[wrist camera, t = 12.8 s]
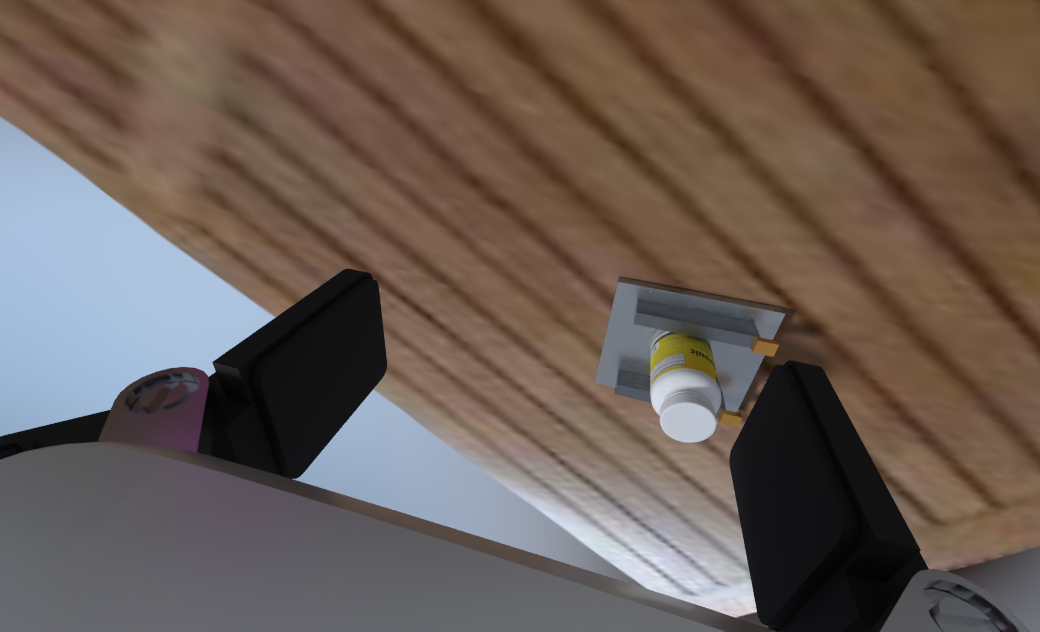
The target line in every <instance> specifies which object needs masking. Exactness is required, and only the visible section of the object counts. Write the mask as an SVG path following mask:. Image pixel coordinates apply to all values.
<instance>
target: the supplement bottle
mask: <svg viewBox="0 0 1040 632" xmlns="http://www.w3.org/2000/svg"><path fill="white" fill-rule="evenodd" d="M650 395H651V402H652V405H653V407H654V409H655V411H656V412H657V413H658V414H659V415H660V424H661V427H662V429H663V431H664V432H665V433H666V434H667V435H668V436H670V437H671V438H673V439H675V440H678V441H682V442H689V443H692V442H699V441H702V440H705V439H707V438H708V437H710V436H711V435H712V434H713V433H714V431H715V429H716V425H717V421H716V415H715V414H716V413H717V411H718V410H719V408H720V405H721V391H720V386H719V382H718V377H717V373H716V368H715V363H714V358H713V353H712V350H711V346H710V344H709V342H708V341H707V340H706V339H703V338H698V337H693V336H689V335H684V334H679V333H674V332H669V331H667V332H664V333H663V334H661V335H660V336H658V337H657V338H656V340H655V341H654V343H653V344H652V347H651V353H650Z"/></svg>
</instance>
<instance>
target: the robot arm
mask: <svg viewBox="0 0 1040 632" xmlns="http://www.w3.org/2000/svg"><path fill="white" fill-rule="evenodd" d="M213 365H214V368H215V370H216V372H215V373H214V374H212V375H211V376H210V377H208V376H207V375H206V373H205V372H204V371H202V370H199V369H196V368H189V367H179V368H170V369H166V370H162V371H158V372H155V373H152V374H150V375H147V376H145V377H142V378H140V379H139V380H137V381H135V382H133V383H132V384H130V385H129V386H127V387H126V388H125V389H124V390H123V391H122V392H120V394H119V395H118V397H117V398H116V400H115V401H114V403H113V406H112V408H111V410H108V411H104V412H100V413H96V414H91V415H87V416H83V417H79V418H75V419H70V420H66V421H62V422H58V423H54V424H50V425H46V426H41V427H37V428H33V429H29V430H25V431H21V432H17V433H13V434H8V435H4V436H1V437H0V632H1030V631H1029V630H1028V628H1027V627H1026V626H1025V625H1024V624H1023V623H1022V622H1021V621H1020V620H1019V619H1018V618H1017V617H1016V616H1015V615H1014V614H1013V613H1012V612H1011V611H1010V610H1009V609H1008V608H1007V607H1006V606H1005V605H1003V604H1002V603H1001V602H999V601H998V600H997V599H996V598H994V597H993V596H992V595H990V594H989V593H988V592H986V591H985V590H983V589H981V588H980V587H978V586H976V585H975V584H973V583H972V582H970V581H968V580H966V579H964V578H961V577H959V576H956V575H954V574H951V573H950V572H945V571H940V570H935V569H930V570H929V569H928V567H927V565H926V563H925V561H924V559H923V557H922V556H921V554H920V551H921V550H920V548H919V546H918V544H917V543H916V541H915V539H914V537H913V535H912V533H911V531H910V530H909V528H908V526H907V524H906V522H905V520H904V518H903V517H902V515H901V513H900V511H899V509H898V507H897V505H896V504H895V502H894V500H893V498H892V496H891V494H890V492H889V491H888V489H887V487H886V485H885V483H884V481H883V480H882V478H881V476H880V474H879V472H878V470H877V468H876V467H875V465H874V463H873V461H872V459H871V457H870V455H869V454H868V452H867V450H866V448H865V446H864V444H863V442H862V441H861V439H860V437H859V435H858V433H857V431H856V429H855V428H854V426H853V424H852V422H851V420H850V418H849V416H848V415H847V413H846V411H845V409H844V407H843V405H842V403H841V402H840V400H839V398H838V396H837V394H836V392H835V390H834V389H833V387H832V385H831V383H830V381H829V379H828V377H827V376H826V374H825V372H824V370H823V369H822V368H821V367H819V366H815V365H810V364H806V363H801V362H796V361H791V360H790V361H787V362H786V363H785V364H784V366H782V365H776V366H775V367H774V369H773V370H772V372H771V374H770V376H769V378H768V380H767V382H766V384H765V386H764V388H763V390H762V391H761V393H760V395H759V397H758V399H757V401H756V403H755V405H754V407H753V409H752V411H751V413H750V415H749V417H748V418H747V420H746V422H745V424H744V426H743V428H742V430H741V432H740V434H739V436H738V438H737V440H736V442H735V443H734V445H733V447H732V450H731V453H730V469H731V475H732V480H733V485H734V491H735V496H736V501H737V507H738V512H739V517H740V523H741V528H742V533H743V539H744V544H745V549H746V555H747V560H748V565H749V571H750V576H751V581H752V587H753V592H754V598H755V603H756V608H757V613H758V617H759V619H760V621H761V622H762V624H764V625H768V628H769V629H768V628H765V627H761V626H758V625H755V624H753V623H749V622H747V621H744V620H740V619H738V618H735V617H732V616H729V615H726V614H723V613H720V612H717V611H714V610H711V609H708V608H705V607H702V606H698V605H695V604H692V603H689V602H686V601H683V600H680V599H676V598H673V597H670V596H667V595H664V594H661V593H657V592H654V591H651V590H648V589H645V588H641V587H638V586H635V585H632V584H629V583H626V582H623V581H619V580H616V579H613V578H610V577H607V576H604V575H600V574H597V573H594V572H591V571H588V570H585V569H581V568H578V567H575V566H571V565H569V564H566V563H562V562H559V561H556V560H553V559H550V558H546V557H543V556H540V555H537V554H533V553H530V552H527V551H524V550H521V549H517V548H514V547H511V546H508V545H505V544H501V543H498V542H495V541H492V540H489V539H485V538H482V537H479V536H475V535H472V534H469V533H466V532H463V531H459V530H456V529H453V528H450V527H447V526H443V525H440V524H437V523H434V522H430V521H427V520H424V519H421V518H417V517H414V516H411V515H408V514H404V513H401V512H398V511H395V510H391V509H388V508H385V507H381V506H378V505H375V504H372V503H368V502H365V501H362V500H358V499H355V498H352V497H349V496H345V495H342V494H339V493H336V492H332V491H329V490H326V489H322V488H319V487H316V486H312V485H309V484H305V483H302V482H299V481H296V480H293V479H296V478H298V477H300V476H301V475H302V474H303V473H304V472H305V470H306V469H307V468H308V467H309V465H310V464H311V463H312V462H313V461H314V460H315V458H316V457H317V456H318V455H319V454H320V452H321V451H322V450H323V449H324V448H325V446H326V445H327V444H328V443H329V442H330V440H331V439H332V438H333V437H334V435H335V434H336V433H337V432H338V431H339V430H340V428H341V427H342V426H343V425H344V423H345V422H346V421H347V420H348V419H349V418H350V416H351V415H352V414H353V413H354V412H355V410H356V409H357V408H358V407H359V406H360V404H361V403H362V402H363V401H364V400H365V398H366V397H367V396H368V395H369V394H370V392H371V391H372V390H373V389H374V387H375V386H376V385H377V384H378V383H379V381H380V380H381V379H382V378H383V376H384V375H385V372H386V369H387V358H386V349H385V340H384V331H383V322H382V313H381V304H380V295H379V286H378V283H377V281H376V280H373V277H372V275H371V274H370V273H367V272H362V271H357V270H353V269H345V270H343V271H341V272H340V273H339V274H337V275H336V276H334V277H333V278H331V279H330V280H329V281H327V282H326V283H324V284H323V285H321V286H320V287H319V288H317V289H316V290H314V291H313V292H312V293H310V294H309V295H307V296H306V297H304V298H303V299H302V300H300V301H299V302H297V303H296V304H294V305H293V306H292V307H290V308H289V309H287V310H286V311H284V312H283V313H282V314H280V315H279V316H277V317H276V318H275V319H273V320H272V321H270V322H269V323H268V324H266V325H265V326H263V327H262V328H260V329H259V330H257V331H256V332H255V333H253V334H252V335H250V336H249V337H248V338H246V339H245V340H243V341H242V342H241V343H239V344H238V345H236V346H235V347H233V348H232V349H230V350H229V351H228V352H226V353H225V354H223V355H222V356H220V357H219V358H218V359H216V360H215V361H213Z"/></svg>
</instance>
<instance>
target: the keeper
mask: <svg viewBox="0 0 1040 632" xmlns="http://www.w3.org/2000/svg"><path fill="white" fill-rule="evenodd" d="M785 314H786V313H785V312H784V310H783V308H781V307H775V306H770V305H765V304H760V303H754V302H749V301H744V300H738V299H733V298H728V297H722V296H717V295H712V294H707V293H701V292H696V291H691V290H685V289H680V288H675V287H669V286H664V285H659V284H653V283H648V282H643V281H638V280H632V279H627V278H622V277H619V279H618V283H617V287H616V292H615V296H614V300H613V305H612V309H611V313H610V318H609V322H608V326H607V330H606V335H605V339H604V343H603V348H602V352H601V356H600V360H599V365H598V369H597V373H596V378H595V383H597V384H602V385H606V386H610V387H615V394H617V395H622V396H626V397H630V398H634V399H639V400H643V401H647V402H651V395H650V353H651V347H652V344H653V343H654V341H655V340H656V338H657V337H658V336H660V335H661V334H663V333H664V332H667V331H669V332H674V333H679V334H684V335H689V336H693V337H698V338H703V339H706V340H707V341H708V342H709V344H710V346H711V350H712V353H713V358H714V363H715V368H716V373H717V377H718V382H719V386H720V391H721V405H720V408H719V410H718V411H717V413H716V414H715V415H716V418H718V419H719V423H722V424H726V425H730V426H734V427H738V425H739V423H740V421H741V419H742V415H741V413H738V412H737V411H738V409H739V407H740V405H741V403H742V401H743V399H744V397H745V395H746V393H747V391H748V389H749V387H750V385H751V383H752V381H753V379H754V377H755V374H756V372H757V370H758V368H759V366H760V364H761V362H762V360H763V358H764V356H765V355H767V356H771V357H774V355H775V353H776V351H777V349H778V347H779V343H778V341H776V340H773V338H774V336H775V334H776V332H777V330H778V328H779V326H780V324H781V322H782V320H783V318H784V316H785ZM651 403H652V402H651Z"/></svg>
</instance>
